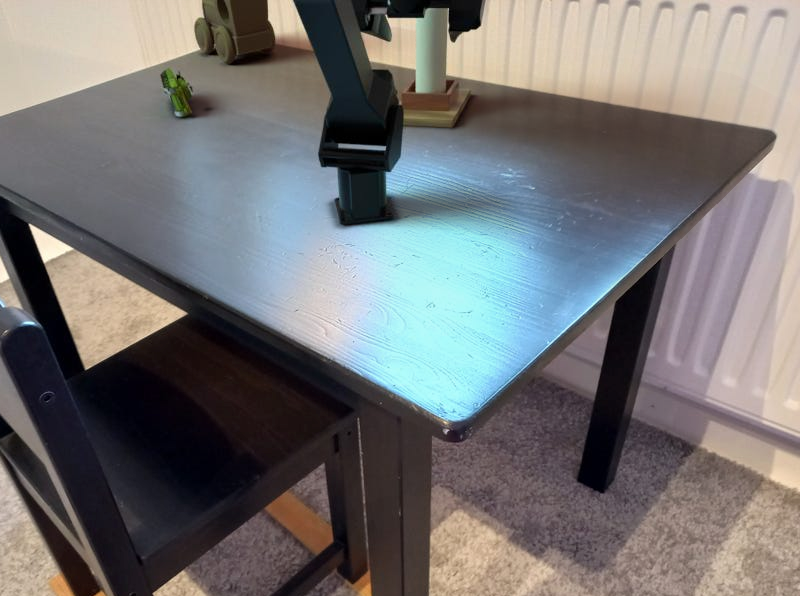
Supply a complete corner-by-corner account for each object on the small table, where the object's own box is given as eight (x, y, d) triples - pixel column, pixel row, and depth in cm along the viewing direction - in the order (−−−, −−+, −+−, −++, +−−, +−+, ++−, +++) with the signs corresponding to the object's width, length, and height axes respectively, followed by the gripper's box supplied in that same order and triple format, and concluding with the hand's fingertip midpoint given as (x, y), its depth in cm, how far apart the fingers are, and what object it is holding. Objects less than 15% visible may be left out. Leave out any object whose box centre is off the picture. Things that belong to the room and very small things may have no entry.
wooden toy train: (284, 58, 141) (274, -36, 131) (233, 70, 137) (218, -25, 127) (241, 39, 155) (229, -47, 145) (193, 50, 151) (177, -37, 141)
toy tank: (150, 90, 113) (208, 67, 113) (144, 60, 128) (196, 40, 128) (168, 131, 118) (224, 109, 118) (161, 98, 132) (210, 78, 133)
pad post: (450, 99, 111) (453, 1, 102) (437, 108, 108) (439, 9, 99) (424, 96, 113) (424, 0, 104) (410, 105, 110) (410, 7, 102)
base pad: (452, 127, 105) (453, 102, 102) (387, 124, 108) (387, 100, 106) (470, 96, 115) (471, 72, 113) (410, 94, 118) (410, 71, 116)
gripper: (490, -101, 82) (498, -16, 97) (339, -93, 88) (368, -14, 103) (474, -12, 82) (484, 60, 96) (323, -10, 88) (354, 58, 102)
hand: (421, 38), depth 100 cm, fingers open, 9 cm apart
